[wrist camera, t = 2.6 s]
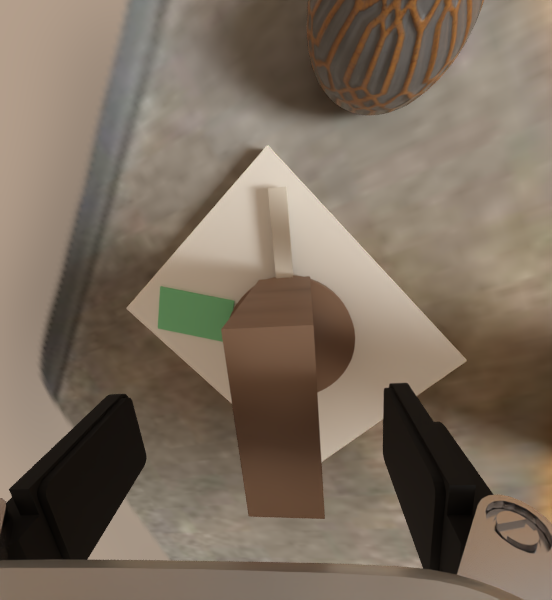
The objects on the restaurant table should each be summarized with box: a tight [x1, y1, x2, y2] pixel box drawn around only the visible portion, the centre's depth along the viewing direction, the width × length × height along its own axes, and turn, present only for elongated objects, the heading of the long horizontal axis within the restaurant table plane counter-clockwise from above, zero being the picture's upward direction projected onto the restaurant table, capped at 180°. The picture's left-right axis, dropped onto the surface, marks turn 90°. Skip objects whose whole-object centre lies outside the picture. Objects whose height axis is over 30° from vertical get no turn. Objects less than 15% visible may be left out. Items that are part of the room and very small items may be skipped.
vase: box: [307, 0, 484, 115], centre depth 12 cm, size 7×7×9 cm
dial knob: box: [221, 187, 355, 519], centre depth 14 cm, size 13×8×9 cm, turn 5°
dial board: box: [126, 145, 467, 462], centre depth 20 cm, size 18×14×2 cm
